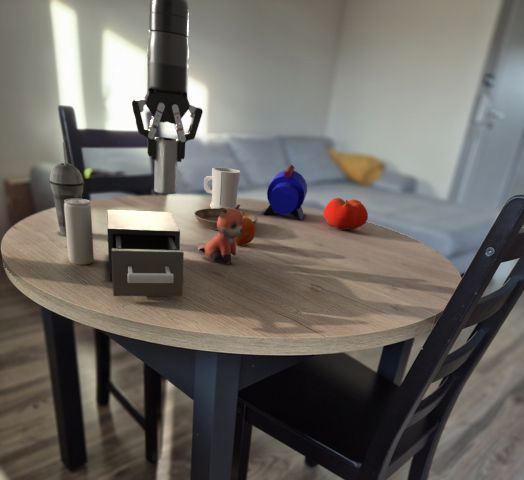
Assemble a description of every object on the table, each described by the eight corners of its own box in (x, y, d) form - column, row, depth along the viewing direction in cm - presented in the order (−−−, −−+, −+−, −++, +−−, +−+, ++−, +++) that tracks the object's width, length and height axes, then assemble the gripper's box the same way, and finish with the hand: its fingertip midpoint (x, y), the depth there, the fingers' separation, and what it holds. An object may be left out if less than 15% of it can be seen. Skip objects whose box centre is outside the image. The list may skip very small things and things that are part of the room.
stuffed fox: (204, 248, 114) (207, 196, 108) (246, 259, 110) (251, 206, 105) (187, 255, 108) (189, 201, 102) (231, 267, 104) (235, 211, 99)
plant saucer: (183, 226, 130) (184, 215, 128) (207, 214, 145) (208, 204, 144) (245, 238, 126) (246, 226, 125) (263, 224, 142) (264, 214, 140)
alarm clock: (304, 214, 161) (311, 167, 154) (299, 221, 150) (307, 171, 143) (268, 208, 163) (274, 161, 156) (261, 215, 152) (267, 165, 145)
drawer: (186, 309, 80) (188, 263, 76) (113, 310, 76) (111, 262, 73) (173, 269, 96) (174, 230, 92) (112, 269, 93) (111, 228, 89)
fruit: (243, 250, 116) (246, 217, 113) (220, 243, 119) (222, 210, 116) (259, 245, 122) (262, 213, 118) (237, 238, 125) (239, 207, 121)
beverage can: (66, 264, 95) (61, 202, 89) (71, 257, 99) (66, 197, 93) (92, 266, 95) (88, 204, 90) (95, 258, 100) (92, 199, 94)
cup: (209, 212, 149) (211, 171, 143) (201, 205, 156) (203, 166, 150) (241, 212, 152) (244, 173, 147) (232, 206, 160) (235, 168, 154)
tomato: (313, 227, 145) (318, 197, 141) (327, 221, 156) (332, 193, 152) (356, 237, 140) (363, 206, 136) (368, 230, 151) (374, 201, 147)
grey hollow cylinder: (152, 189, 101) (153, 136, 96) (173, 190, 103) (175, 138, 98) (156, 193, 98) (157, 138, 93) (178, 194, 99) (180, 141, 94)
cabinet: (178, 281, 93) (180, 231, 89) (109, 281, 89) (107, 228, 85) (170, 257, 106) (171, 212, 101) (109, 256, 102) (107, 209, 97)
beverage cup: (86, 229, 118) (80, 141, 108) (88, 237, 112) (82, 145, 102) (54, 229, 115) (45, 138, 106) (54, 237, 109) (44, 142, 100)
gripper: (202, 68, 95) (197, 160, 103) (127, 57, 90) (128, 154, 98) (209, 68, 88) (204, 166, 96) (129, 56, 84) (130, 160, 92)
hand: (165, 159), depth 97 cm, fingers closed on grey hollow cylinder, 4 cm apart
